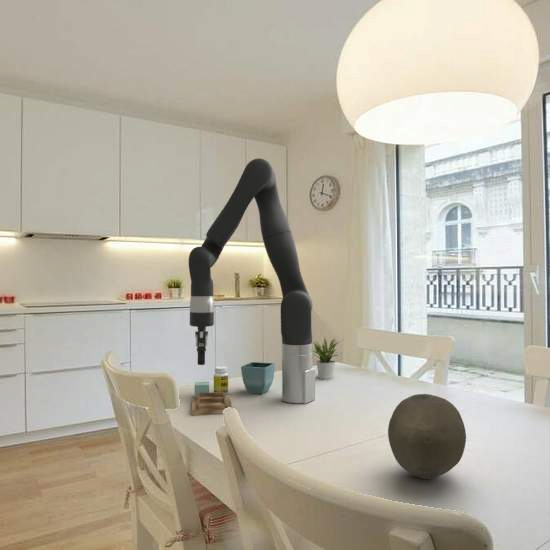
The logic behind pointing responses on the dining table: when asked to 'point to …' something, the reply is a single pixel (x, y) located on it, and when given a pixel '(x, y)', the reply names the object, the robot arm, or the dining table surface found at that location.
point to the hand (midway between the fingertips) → (201, 362)
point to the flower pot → (258, 376)
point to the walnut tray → (210, 403)
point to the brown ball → (426, 435)
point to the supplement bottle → (221, 379)
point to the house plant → (325, 359)
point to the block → (201, 387)
